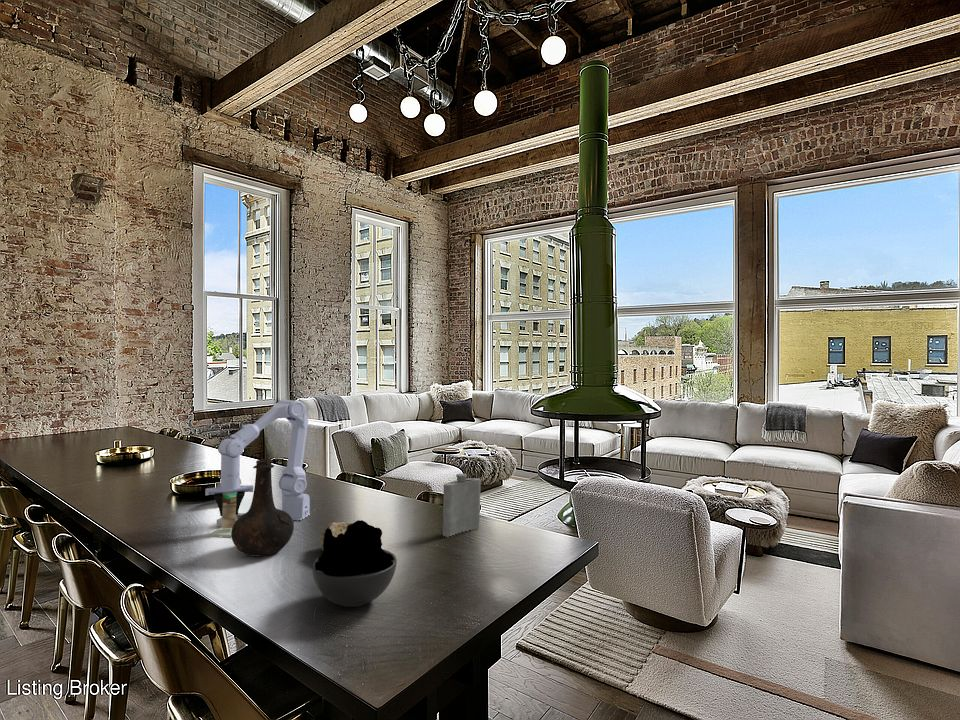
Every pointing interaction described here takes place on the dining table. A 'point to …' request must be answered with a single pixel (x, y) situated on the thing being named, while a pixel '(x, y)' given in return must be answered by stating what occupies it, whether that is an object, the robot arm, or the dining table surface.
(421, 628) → the dining table surface
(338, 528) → the rock
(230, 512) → the maple peg
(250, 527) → the glass bottle
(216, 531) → the ceramic tile
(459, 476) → the hip flask
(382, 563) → the bowl of black rocks
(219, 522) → the white flat frame
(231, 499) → the food container
